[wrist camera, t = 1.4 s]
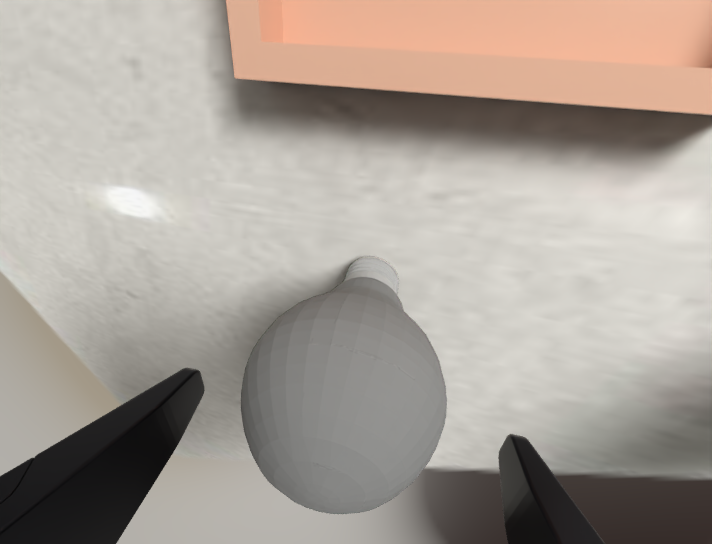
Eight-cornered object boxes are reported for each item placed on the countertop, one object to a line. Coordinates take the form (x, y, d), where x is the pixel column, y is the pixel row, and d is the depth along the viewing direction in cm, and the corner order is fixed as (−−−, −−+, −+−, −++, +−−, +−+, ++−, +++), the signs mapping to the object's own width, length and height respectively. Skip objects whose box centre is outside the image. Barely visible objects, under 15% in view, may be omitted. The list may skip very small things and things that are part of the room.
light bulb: (295, 241, 15) (137, 426, 7) (412, 200, 13) (399, 390, 5) (344, 332, 18) (273, 555, 9) (449, 309, 16) (487, 568, 7)
